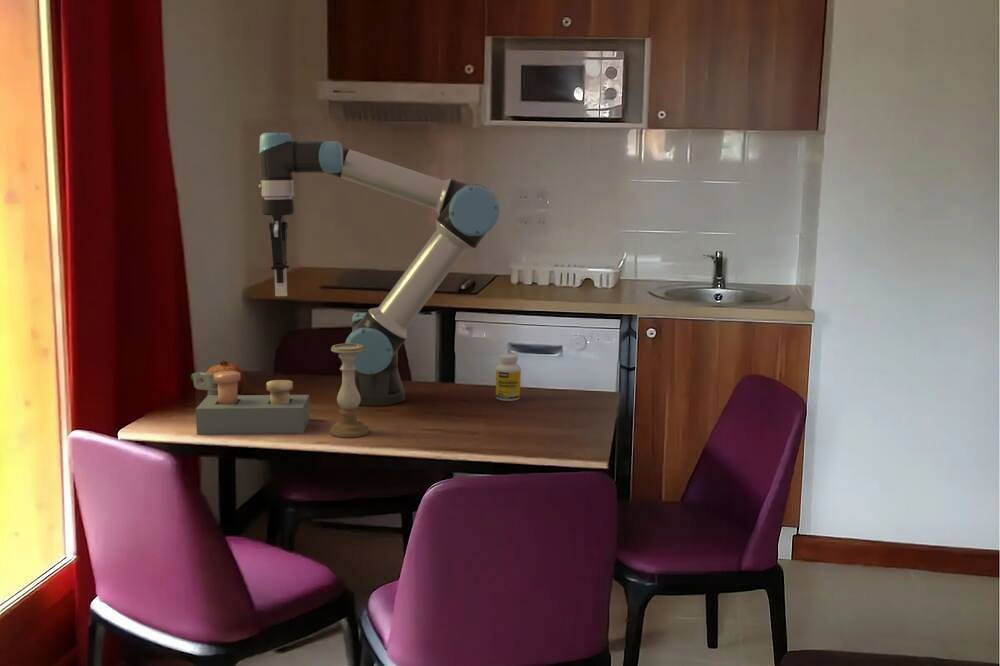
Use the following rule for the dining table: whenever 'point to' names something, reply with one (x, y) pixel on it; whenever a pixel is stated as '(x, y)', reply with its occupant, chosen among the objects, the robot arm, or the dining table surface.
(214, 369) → the fruit
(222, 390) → the terracotta plug
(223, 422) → the socket board
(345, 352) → the candle holder
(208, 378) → the mechanical component
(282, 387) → the beech plug
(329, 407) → the dining table surface
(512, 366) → the pill bottle
